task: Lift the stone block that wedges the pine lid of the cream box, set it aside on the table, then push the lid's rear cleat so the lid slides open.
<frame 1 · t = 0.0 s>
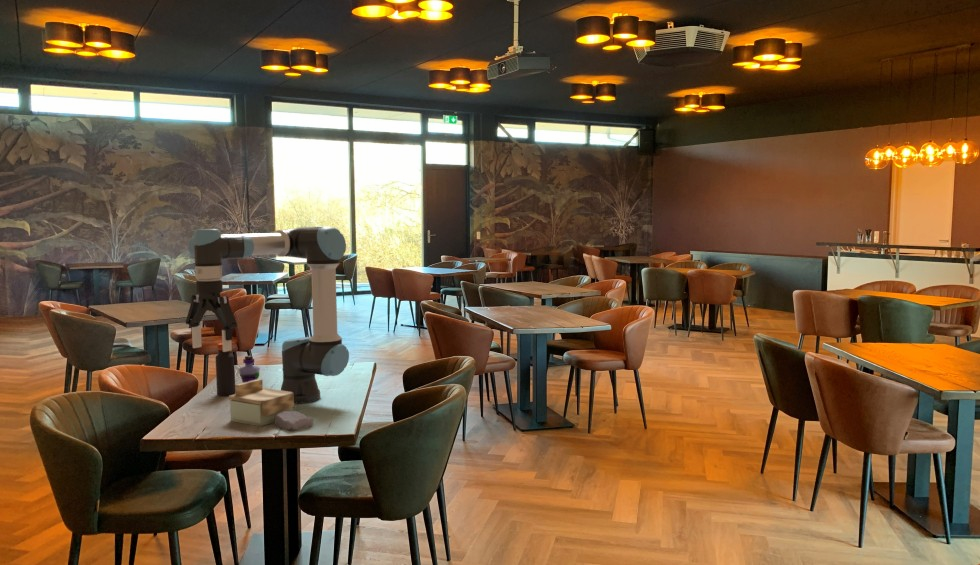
hand: (212, 349, 218), 28 cm above the table, tool pointing down, fingers open, 13 cm apart
stone block: (295, 426, 235), on the table
vinegar: (226, 394, 278), on the table
potion bottle: (249, 385, 294), on the table
cream box: (261, 418, 243), on the table
lid: (262, 396, 242), point 8 cm above the table, slide at 0.0 cm
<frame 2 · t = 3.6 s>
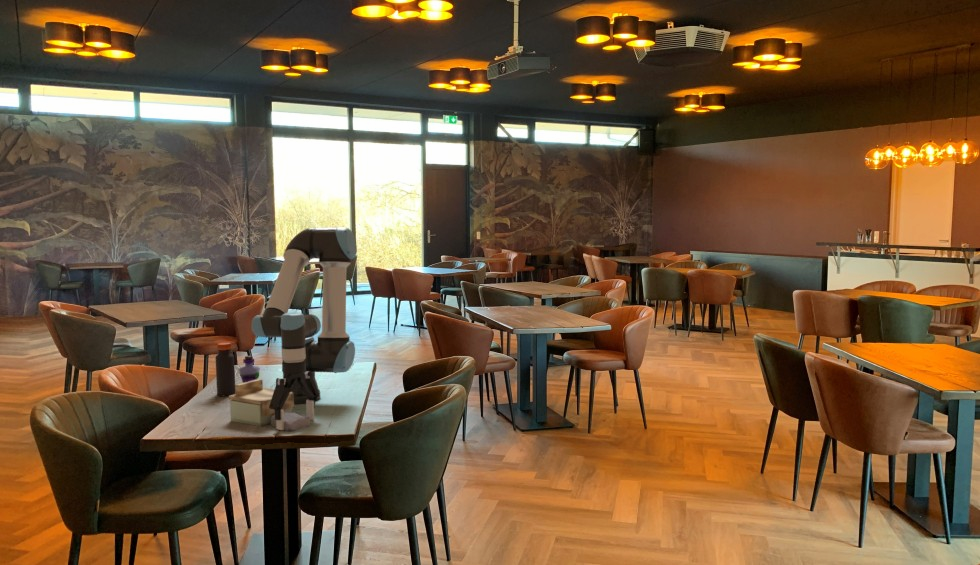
hand: (295, 424, 235), 0 cm above the table, tool pointing down, fingers open, 13 cm apart
stone block: (292, 427, 234), on the table, touching gripper
everything else where it was.
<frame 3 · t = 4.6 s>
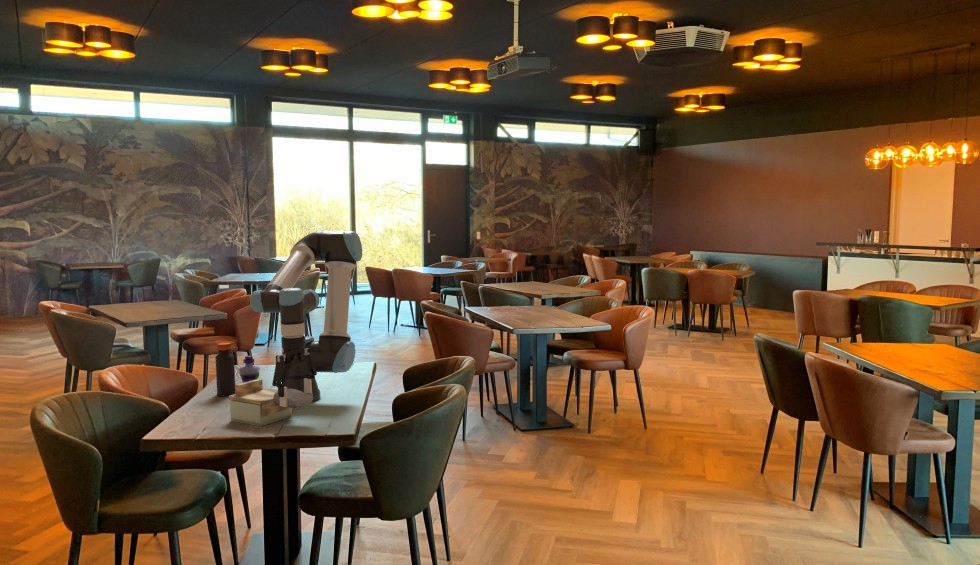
hand: (296, 401, 235), 7 cm above the table, tool pointing down, fingers closed on stone block, 10 cm apart
stone block: (295, 403, 236), point 7 cm above the table, touching gripper
everything else where it was.
when the fingers open (0 cm above the table, at t = 10.5 s): stone block stays where it is, on the table.
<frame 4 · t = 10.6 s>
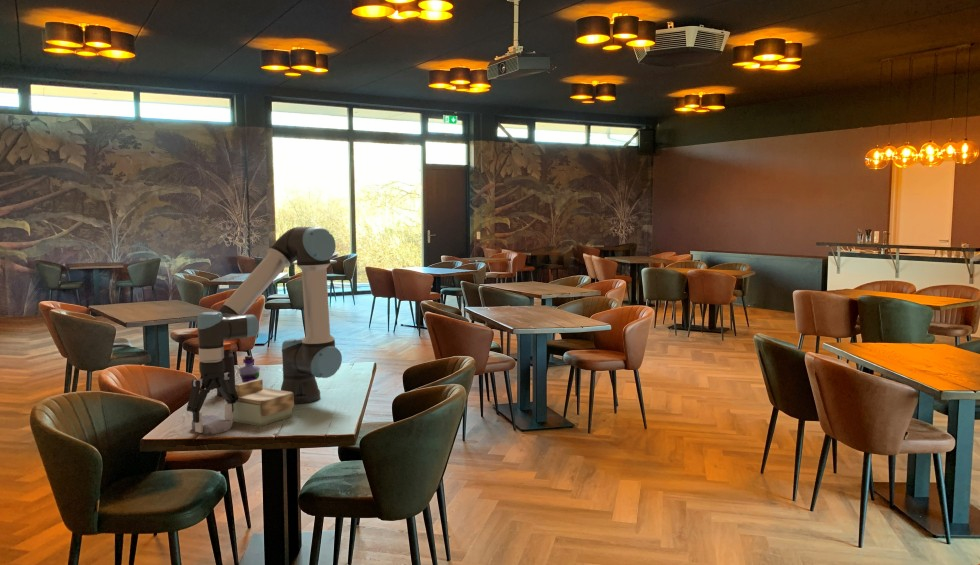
hand: (214, 427, 231), 1 cm above the table, tool pointing down, fingers open, 11 cm apart
stone block: (214, 430, 232), on the table
lid: (262, 396, 242), point 8 cm above the table, slide at 0.0 cm, touching gripper, hand
everything else where it was.
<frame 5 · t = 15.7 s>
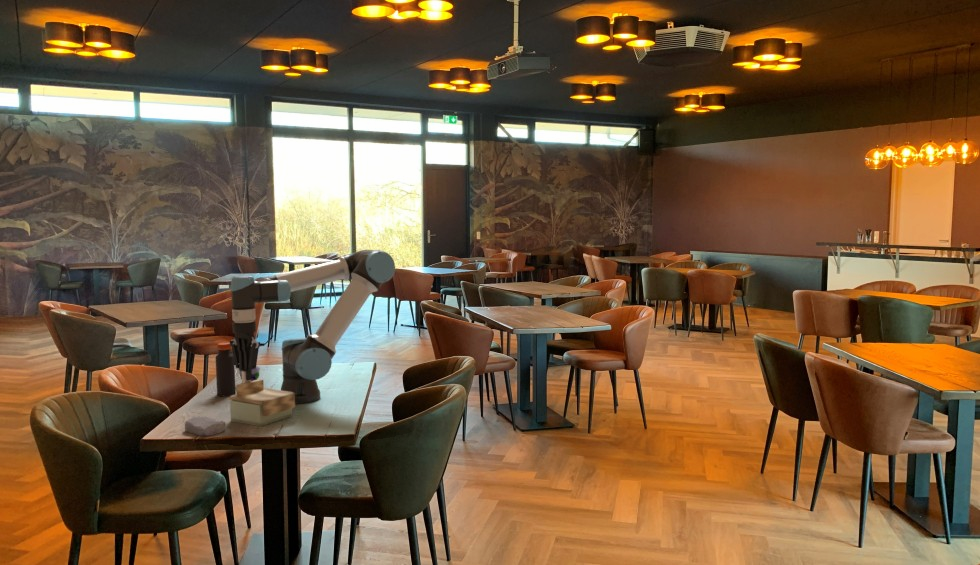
hand: (246, 389, 246), 9 cm above the table, tool pointing down, fingers closed
stone block: (207, 431, 230), on the table
lid: (263, 396, 242), point 8 cm above the table, slide at 0.5 cm, touching gripper
everything else where it was.
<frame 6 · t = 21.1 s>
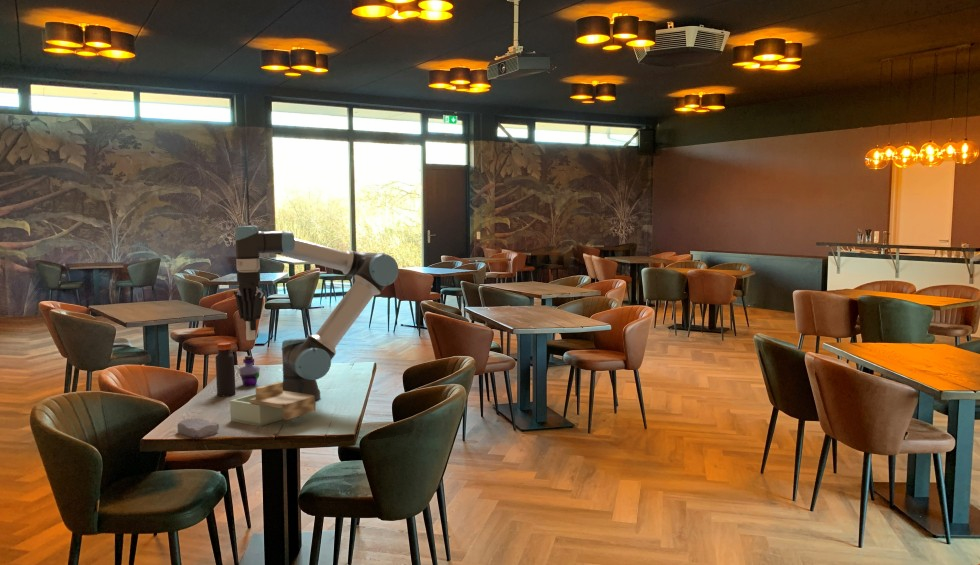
hand: (250, 339, 245), 26 cm above the table, tool pointing down, fingers closed
stone block: (200, 433, 228), on the table
lid: (282, 399, 237), point 8 cm above the table, slide at 9.7 cm
everything else where it was.
at the end: lid slide at 9.7 cm; stone block inside the target area (4.7 cm from its centre), on the table; the gripper is holding nothing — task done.
